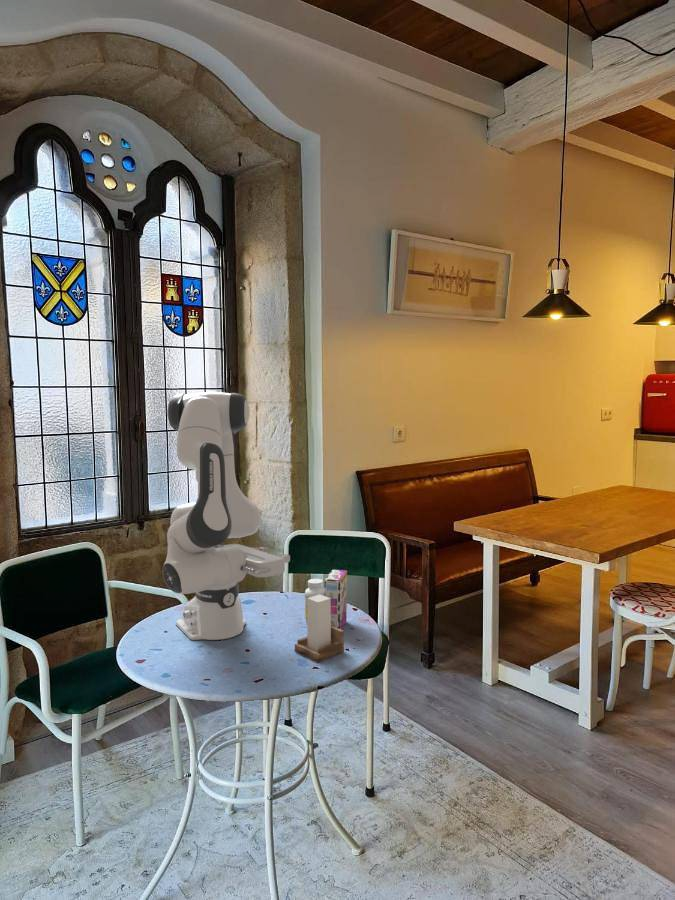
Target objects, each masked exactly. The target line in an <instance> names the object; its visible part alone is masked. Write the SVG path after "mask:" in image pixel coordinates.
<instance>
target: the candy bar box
mask: <svg viewBox="0 0 675 900" xmlns="http://www.w3.org/2000/svg"><path fill="white" fill-rule="evenodd" d="M323 582H324V585H323V586H324V587H323V588H324V596H325V597H328V598H331V626H334V627H336V628H338V629H341V630H343V628H344V627H345V625H346V623H347V613H348V612H347V611H348V610H347V606H348V605H347V604H348V603H347V602H348V600H347V599H348V597H347V594H348V590H347V589H348V570H345V569H344V570H343V569H332V570H331V571H330V572H329V573H328V575H327V576H326V577H325V579H323Z"/></svg>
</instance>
